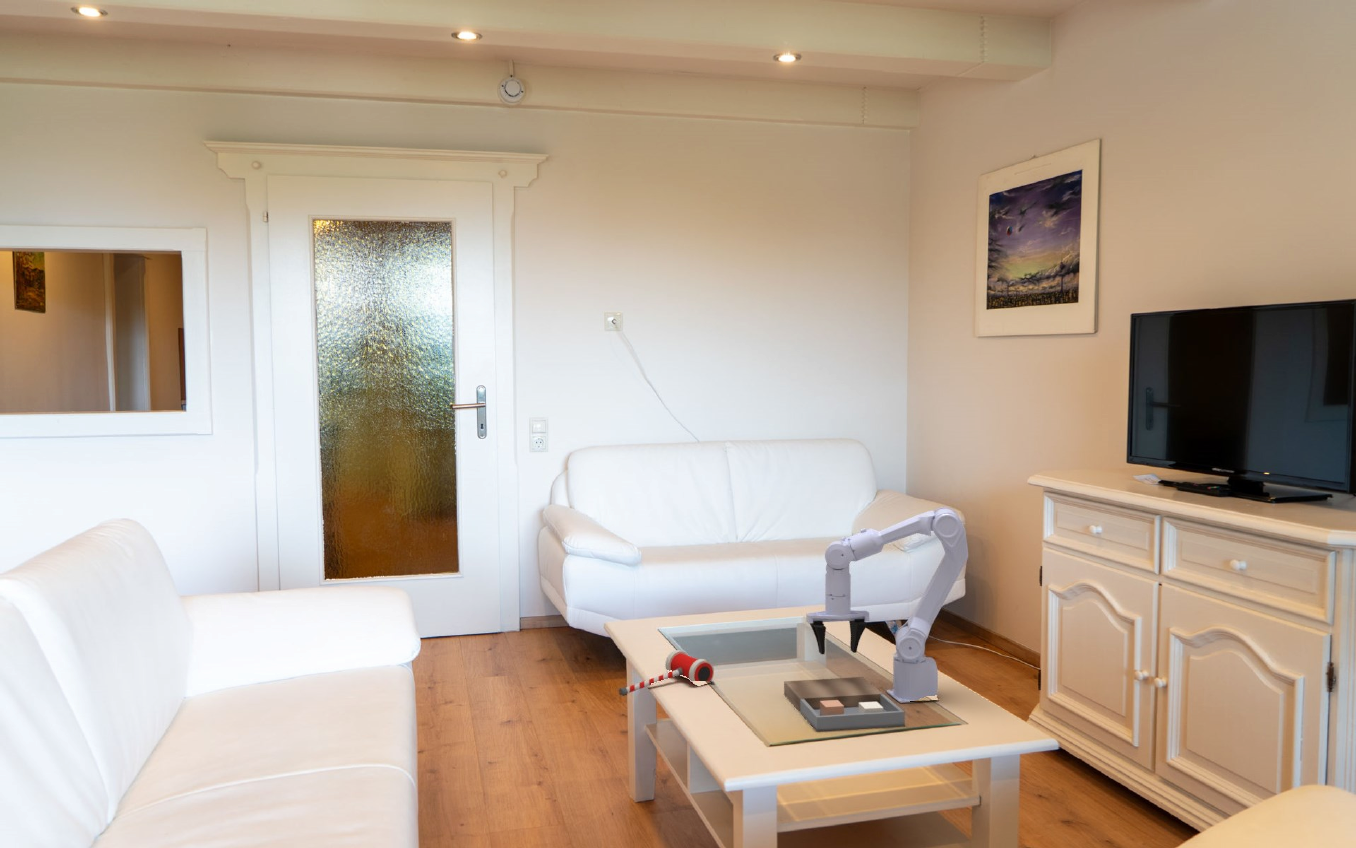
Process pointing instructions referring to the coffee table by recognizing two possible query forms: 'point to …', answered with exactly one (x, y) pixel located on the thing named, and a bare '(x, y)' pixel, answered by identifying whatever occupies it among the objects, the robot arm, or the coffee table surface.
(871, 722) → the box
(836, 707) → the terracotta pink block
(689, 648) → the coffee table surface
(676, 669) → the toy hammer
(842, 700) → the dark wooden platform
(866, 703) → the tile cream
